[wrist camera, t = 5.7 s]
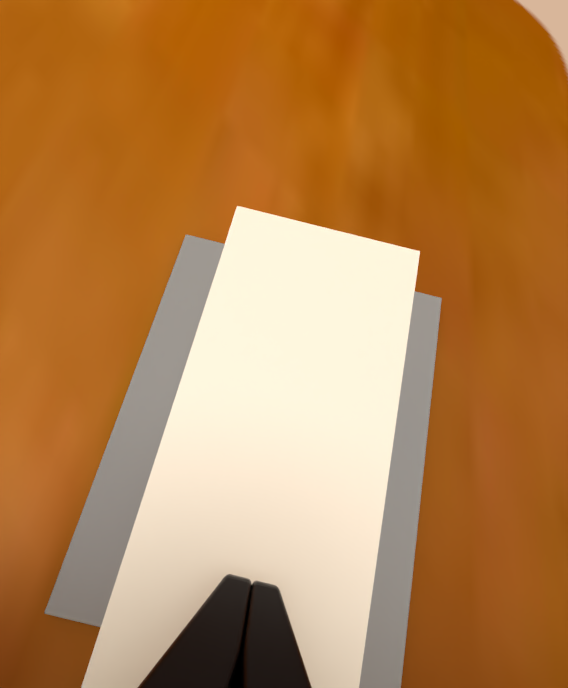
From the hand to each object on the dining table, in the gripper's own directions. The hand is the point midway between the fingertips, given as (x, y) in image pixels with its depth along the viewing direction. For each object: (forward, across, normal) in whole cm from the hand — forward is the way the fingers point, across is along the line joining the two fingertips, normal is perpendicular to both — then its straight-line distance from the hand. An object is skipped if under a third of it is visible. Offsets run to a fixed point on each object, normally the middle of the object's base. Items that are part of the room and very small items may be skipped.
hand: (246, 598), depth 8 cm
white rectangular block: (+1, 0, +6) cm, 6 cm away
